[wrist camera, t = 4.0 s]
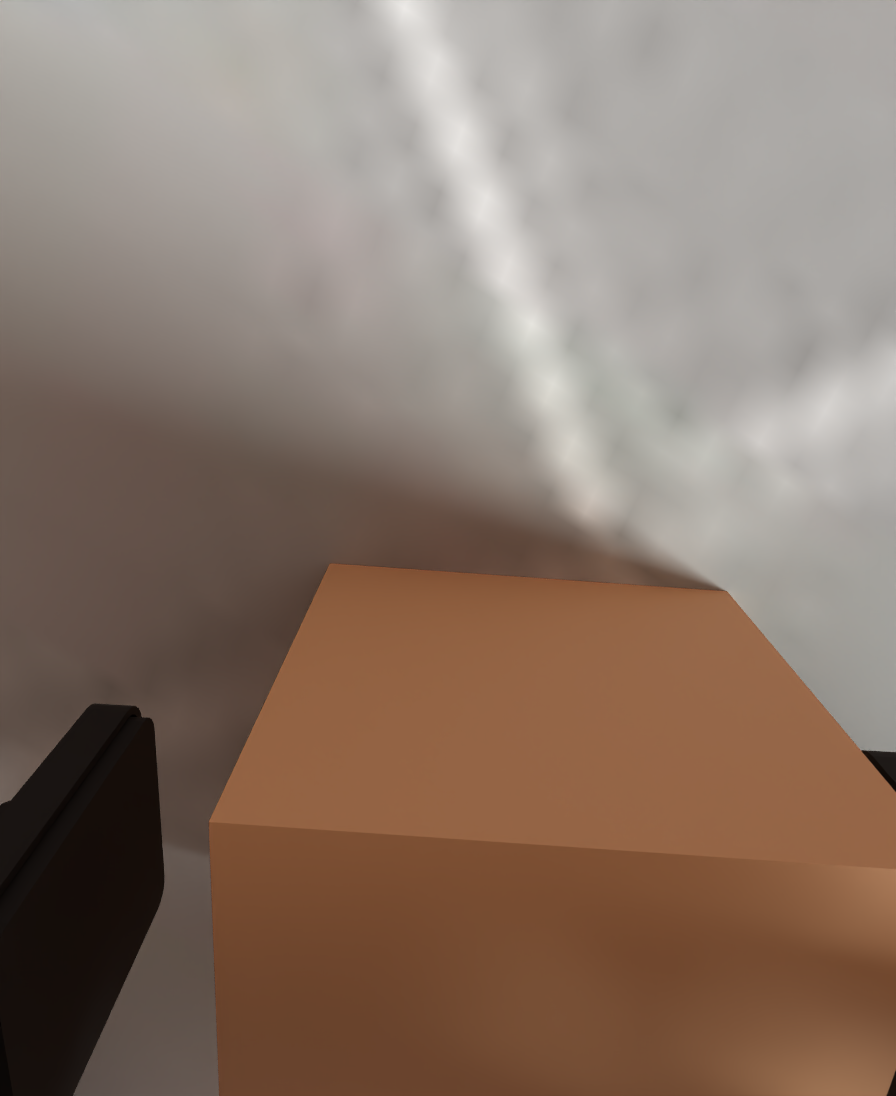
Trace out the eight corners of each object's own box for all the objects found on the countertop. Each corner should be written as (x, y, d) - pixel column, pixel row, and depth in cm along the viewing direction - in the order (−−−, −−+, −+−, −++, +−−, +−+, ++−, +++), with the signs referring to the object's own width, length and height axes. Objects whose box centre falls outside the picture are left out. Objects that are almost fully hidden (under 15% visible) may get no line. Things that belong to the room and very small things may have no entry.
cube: (725, 589, 12) (963, 873, 6) (662, 903, 14) (801, 1337, 8) (331, 561, 12) (208, 821, 6) (323, 880, 14) (227, 1299, 8)
